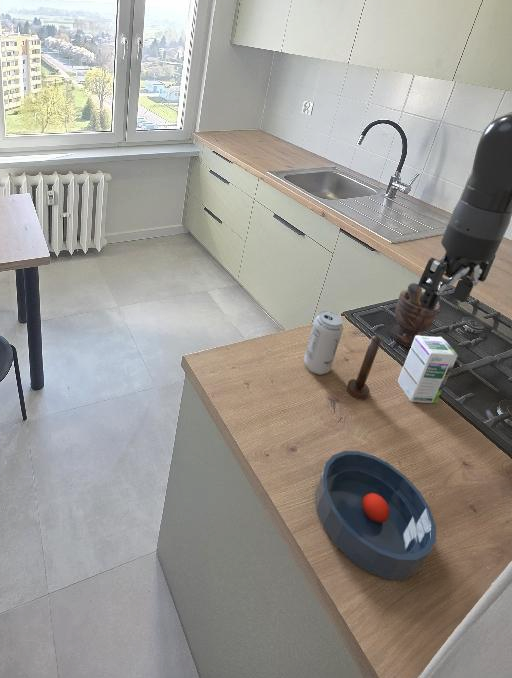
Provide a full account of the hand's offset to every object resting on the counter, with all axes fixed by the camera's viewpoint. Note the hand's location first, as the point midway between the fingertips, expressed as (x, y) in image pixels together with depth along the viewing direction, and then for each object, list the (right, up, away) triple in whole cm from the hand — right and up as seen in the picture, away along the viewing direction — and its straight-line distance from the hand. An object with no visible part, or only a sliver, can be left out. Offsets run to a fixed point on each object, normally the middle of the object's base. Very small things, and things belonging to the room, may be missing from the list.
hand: (443, 303), depth 78 cm
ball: (-17, -33, -7) cm, 38 cm away
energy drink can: (-13, -22, +24) cm, 35 cm away
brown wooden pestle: (-7, -25, +17) cm, 31 cm away
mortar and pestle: (+14, -19, +33) cm, 41 cm away
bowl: (-18, -35, -7) cm, 40 cm away
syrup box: (+7, -25, +18) cm, 32 cm away
